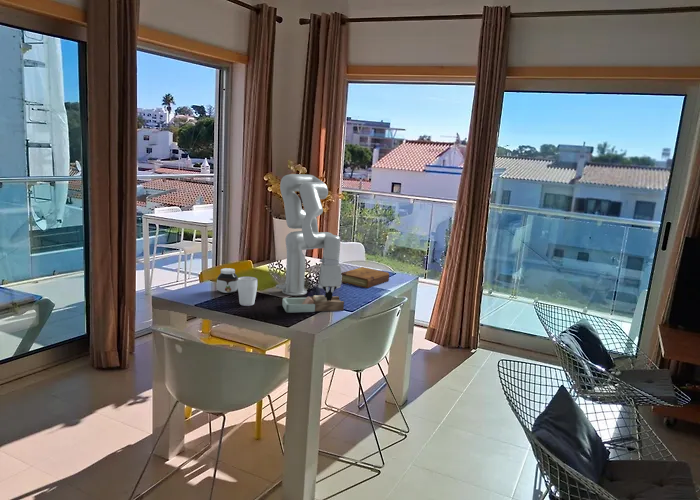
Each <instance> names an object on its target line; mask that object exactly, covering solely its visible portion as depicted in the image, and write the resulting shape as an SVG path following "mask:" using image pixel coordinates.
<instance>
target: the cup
mask: <svg viewBox="0 0 700 500" xmlns="http://www.w3.org/2000/svg"><path fill="white" fill-rule="evenodd" d="M257 289H258V278H257V277H254V276H240V277H238V290H237V293H238V300H239V304H240V305H241V306H243V307H244V306H245V307H251V306H253V305H255V300H256V297H257Z"/></svg>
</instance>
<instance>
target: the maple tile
mask: <svg viewBox="0 0 700 500" xmlns="http://www.w3.org/2000/svg"><path fill="white" fill-rule="evenodd" d="M312 297H313V301H314V302H325V301H327V298H326V297H325V294H319V295H316V294H315V295H313V296H312Z"/></svg>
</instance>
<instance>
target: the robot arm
mask: <svg viewBox="0 0 700 500" xmlns="http://www.w3.org/2000/svg"><path fill="white" fill-rule="evenodd" d="M279 189H280V194H281V197H282V200H283V204H284V205H283V206H284V214H285V221H286V225H287V227H288V228H290V229H293V230H295V229H301V230H297V231H291V232H290V231H289V233H287V234H286V237H285V250H286V268H285V282H283V284H275V288H276V289H279V290H281V291H282V293H283V294H284V295H288V296H296V297H297V296H304V295H306V294H307V293H308V291H307V289H306V288H305V277H306V276H305V275H306V257H305V255H304V252H303V251H305V250H307V251H308V250H314V249H315V250H316V249H323V252H322V255H323V256H322V258H321V259H319V263H321V264H320V269H319V272H318V285H317V287H318V288H319V289H322V290H324V292H325V294H324V296H325V297H326V298H327V301H329V300H330V301H331V298H332V296H333V293H334V291H335V290H336V289H340V288H341V286H342V282H341V281H342V275H341V273H342V266H341V264H340V251H341V237H340V236H339V235H336V234H333V233H332V232H328V231H323V232H322V231H320V232H319V226H318V219H317V217H319V216H321V215H322V214H323V213H324V212H323V211H324V209H323V205H322V202H321V200H325V199H326V198H327V197H328V195H329V188H328V186H327V185H326V183H325V182H324V181H322V180H321V179H319V178H318V177H316V176H315V175H313V174H303V173H302V174H301V173H300V174H298V173H290V174H286V175H284V176H282V178H281V179H280V184H279ZM296 192H299V195H298V194H297V193H296ZM299 196H300V197H299ZM302 205H303V208H304V209H303V208H302Z"/></svg>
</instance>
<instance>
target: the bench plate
mask: <svg viewBox="0 0 700 500" xmlns="http://www.w3.org/2000/svg"><path fill="white" fill-rule="evenodd" d="M309 297H310V298H312V299H313V297H314V296H309ZM314 304H315V312H330V311H331V312H334V311H340V310H341V311H344V310H345V308H344V307H345V305H344V304H345V301H343V300H342V301H341V299H340V296H338V295H337V296H333V295H332V298H331V301H330V300H329V301H325V302H314Z"/></svg>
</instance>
